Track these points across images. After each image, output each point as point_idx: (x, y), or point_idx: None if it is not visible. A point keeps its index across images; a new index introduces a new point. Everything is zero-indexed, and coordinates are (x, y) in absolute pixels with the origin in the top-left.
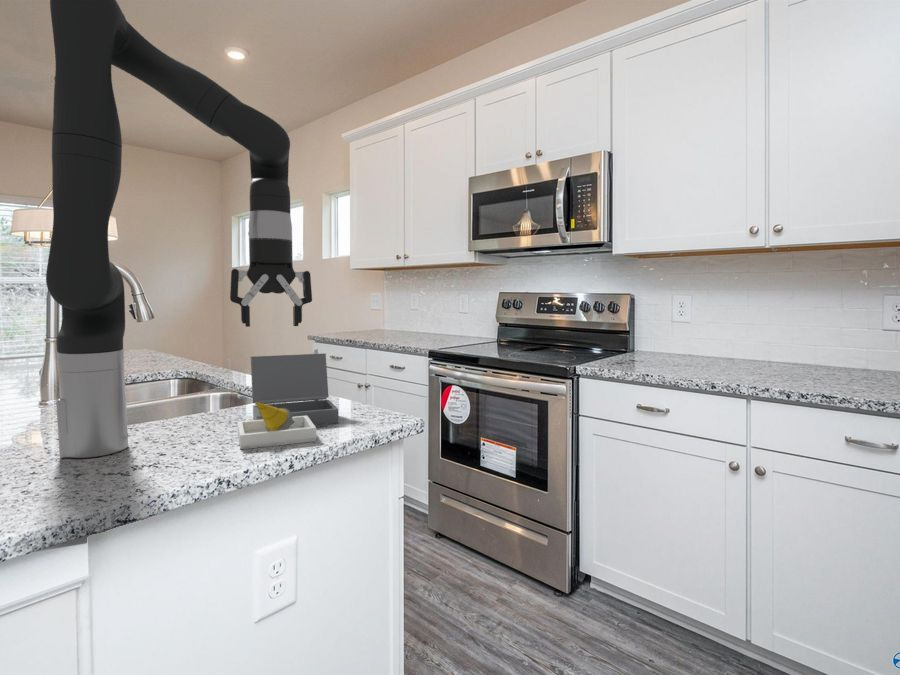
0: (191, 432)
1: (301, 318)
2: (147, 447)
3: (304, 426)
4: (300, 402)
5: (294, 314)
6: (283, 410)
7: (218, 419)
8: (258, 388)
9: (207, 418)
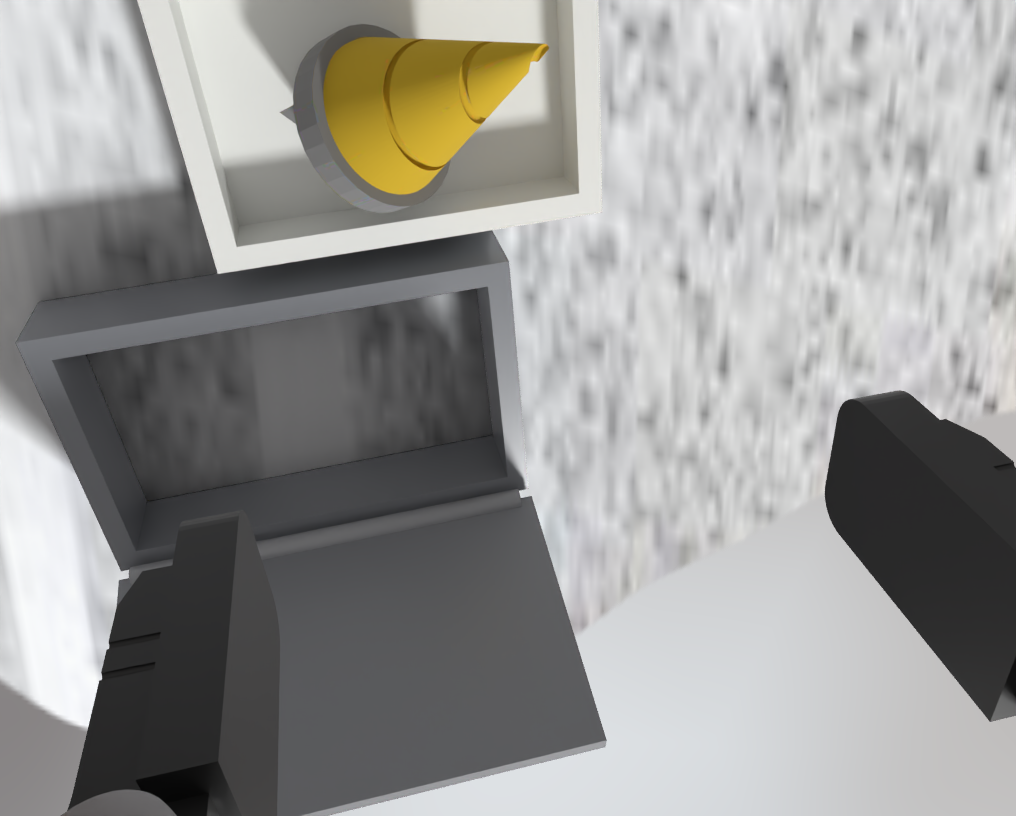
0: (773, 278)
1: (118, 626)
2: (957, 68)
3: (233, 204)
4: (282, 522)
5: (232, 641)
6: (352, 125)
7: (658, 467)
8: (518, 567)
9: (700, 488)
